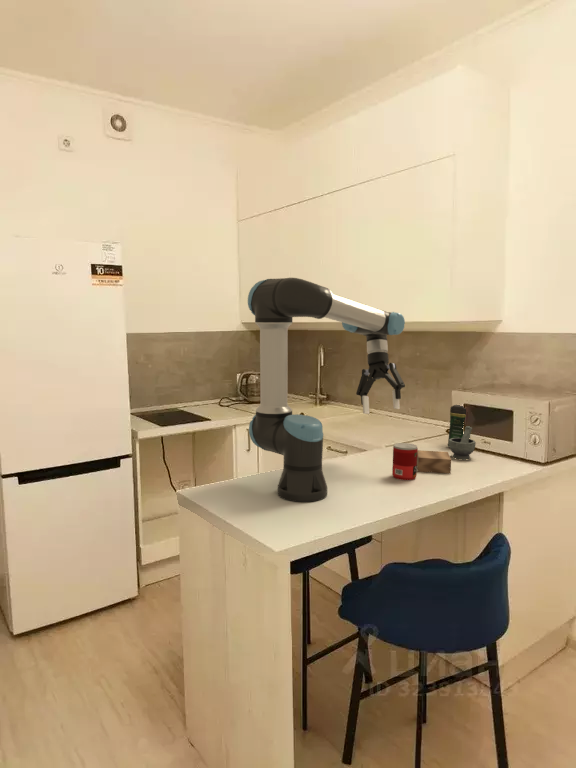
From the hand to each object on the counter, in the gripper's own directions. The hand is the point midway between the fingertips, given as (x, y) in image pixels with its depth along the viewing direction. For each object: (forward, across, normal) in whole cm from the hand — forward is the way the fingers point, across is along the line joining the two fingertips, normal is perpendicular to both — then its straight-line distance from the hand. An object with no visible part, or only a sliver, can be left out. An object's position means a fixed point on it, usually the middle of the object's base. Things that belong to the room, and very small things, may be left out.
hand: (381, 411), depth 193 cm
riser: (+20, -8, -17) cm, 28 cm away
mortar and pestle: (+16, -7, -39) cm, 43 cm away
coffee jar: (+11, +2, -53) cm, 54 cm away
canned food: (+24, -8, 0) cm, 25 cm away
